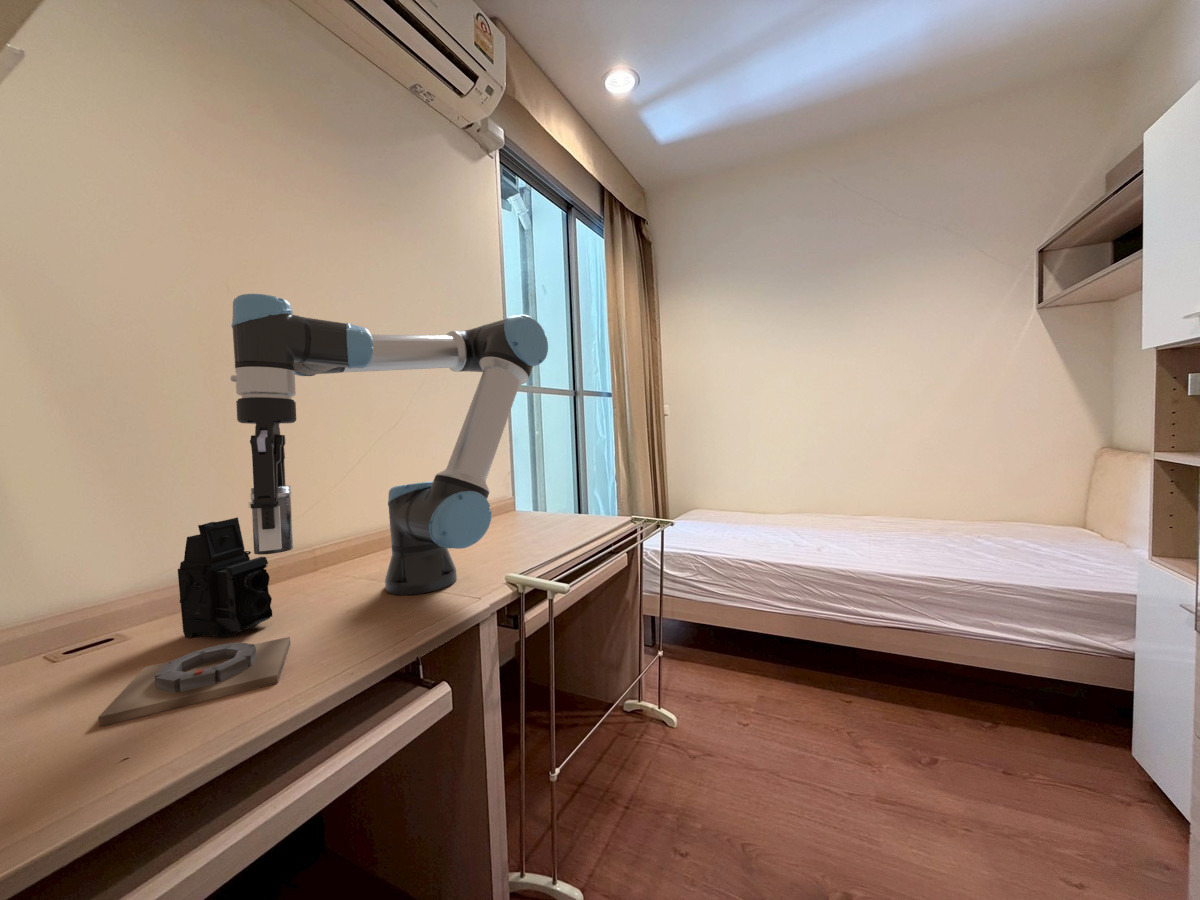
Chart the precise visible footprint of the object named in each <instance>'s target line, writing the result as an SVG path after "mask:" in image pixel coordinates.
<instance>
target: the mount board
mask: <svg viewBox="0 0 1200 900" xmlns="http://www.w3.org/2000/svg"><path fill="white" fill-rule="evenodd" d="M290 647H291V637H290V636H287V637H282V638H279V639H273V640H268V641H263V642H258V643H246V642H241V641H239V642H238V641H237V642H234V643H233V642H227V643H223V644H217V645H214V646H209V647H204V648H202V649H201V650H197V649H196V650H195V651H192V652H189V653H187V654H185V655H182V656H180V657H178V658H176V659H173V660H170V661H167V662H163V663H157V664H153V665H148V666H144V668H143V669H141V671H140V672H139V673H137V675H136V676H135V677H134V678H133V679H132V680H131V681H130V683H129V684H127V686H126V687H125V688H124V689H123V690H122V691H121V692H120V693H119V695H117V696H116V697H115V698H114V699H113V701H112V702H111V703H110V704H109V705H108V706H107V707H106V708H105V709H104V710H103V712H102V713H101V714H100V715H99V716H98V719H97V720H98V726H99V727H104V726H107V725H112V724H116V723H120V722H123V721H125V722H126V721H129V720H133V719H136V718H139V717H140V718H141V717H144V716H148V715H152V714H157V713H161V712H164V711H165V712H166V711H168V710H172V709H178V708H181V707H186V706H189V705H194V704H198V703H201V702H206V701H209V700H215V699H218V698H222V697H227V696H230V695H234V694H238V693H242V692H247V691H251V690H256V689H258V688H259V689H260V688H263V687H267V686H272V685H275V684H278V683H279V681H280V677H281V674H282V672H283V668H284V665H285V661H286V659H287V656H288V654H289V653H288V652H289V650H290Z"/></svg>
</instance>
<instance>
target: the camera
mask: <svg viewBox="0 0 1200 900" xmlns="http://www.w3.org/2000/svg"><path fill="white" fill-rule="evenodd" d="M197 526H198V527H197V528H198V531H199V534H195V535H190V536H186V542H185V547H184V548H185V549H184V550H185V551H184V556H183V557H184V558H183V560H182V561H181V562H180V565H179V568H177V576H178V577H177V578H178V579H177V580H178V586H179V587H178V589H179V603H180V610H181V611H180V612H181V622H182V623H181V624H182V633H183V634H184V637H185V638H186V639H188V638H192V637H194V636H202V637H203V636H206V637H224V638H225V637H226V638H229V637H230V636H233V635H235V634H237V633H239V632H242V631H244V630H245V631H246V630H248V629H250V628H252V627H254V626H256V625H258V624H259V625H260V624H261V623H263V622H264V621H268V620H269V619H271V617H272V618H273V609H272V605H271V604H272V599H273V598H272V596H271V594H270V593H269V592H270V591H269V583H270V575H269V572H267V569H266V568H267V567H268V564H269V562H268V559H267V557H266V556H259V557H257V558H253V559H251V558H250V556H249V555H250V554H251V553H252V552H251V550H248V551H247V550H245V544H244V539H243V535H242V531H241V530H242V529H241V525H240V521H239V517H238V516H237V517H234V518H230V519H224V520H219V521H211V522H207V523H203V524H198V525H197Z"/></svg>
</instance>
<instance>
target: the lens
mask: <svg viewBox="0 0 1200 900" xmlns="http://www.w3.org/2000/svg"><path fill="white" fill-rule="evenodd" d="M249 495H250V500H251V501H248V503H247V504H248V508H250V509H251V504H254V487H252V488H250V494H249ZM278 502H279V504H278V506H280V521H281V542H282V548H281V549H277V550H268V551H259V534H258V514H257V508H254V509H251V514H252V515H251V517H252V533H253V536H252V537H253V540H252V541H253V553H254V555H260V556H261V555H273V554H280V553H284V552H288V551H291V550H293V549H294V541H293V521H292V490H291V485H285V486H278Z"/></svg>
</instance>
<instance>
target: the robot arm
mask: <svg viewBox="0 0 1200 900" xmlns="http://www.w3.org/2000/svg"><path fill="white" fill-rule="evenodd" d="M231 328H232V339H233V340H232V341H233V354H234V355H233V356H234V358H233V359H234V369H235V371H234V372H235V374H236V375H235V374H233V375H231V376H230V381H231V382H233V383H235V388H236V389H235V390H236V394H237V395H238V396H240V397H241V398H238V399H237V400H236V420H237V421H238V423H240V424H250V425H255V429H254V430H255V431H254V434H253V435H250V440H249V444H250V447H251V449H250V450H251V460H252V479H253V480H252V481H253V488H254V504H251V507H250V509H251V510H252V509H254V508H257V514H258V534H259V551H268V550H277V549H281V548H282V542H281V521H280V506H278V504H279V502H278V486H286V469H285V459H286V455H285V454H286V453H285V446H286V435H285V434H281V429H280V424H294V423H295V422H296V421H297V408H296V406H297V405H296V404H297V402H296V401H295V400H294V399H293V397H295V396H296V395H297V394H296V376H299V377H313V376H316V375H323V374H324V375H326V374H340V373H362V372H363V373H364V372H379V371H380V372H384V371H387V372H388V371H404V370H405V371H406V370H408V371H409V370H410V371H411V370H427V369H428V370H432V369H433V370H434V369H449V370H450V371H452V372H455V373H456V372H457V373H458V372H471V373H472V372H476V373H481V376H480V379H479V381H478V384H477V387H476V390H475V392H474V394H473V397H472V400H471V402H470V405H469V407H468V411H467V413H466V416H465V419H464V421H463V424H462V427H461V429H460V432H459V434H458V437H457V439H456V442H455V445H454V448H453V450H452V453H451V455H450V458H449V460H448V463H447V467H446V468H445V469H444V470H442V471H440V472H438V473H436V474H435V476H434V478H433V480H432V481H424V482H423V481H422V482H416V483H415V482H414V483H410V484H401V485H395V486H393V487H391V488H390V489H389V490H388V496H387V497H388V501H387V506H388V513H389V514H388V515H389V518H388V519H389V529H390V543H391V556H390V561H389V564H388V568H387V571H386V575H385V580H384V585H385V586H384V587H385V591H386V593H389V594H393V595H397V596H398V595H400V596H401V595H402V596H404V595H405V596H408V595H420V594H425V593H430V592H434V591H438V590H439V591H440V590H441V589H444V588H446V587H448V586H451V585H453V584H454V583H455V582H456V581H457V578H458V577H457V568H456V565H455V563H454V561H453V558H452V557H451V553H450V551H449V549H460V550H461V549H466V548H470V547H471V546H473V545H475V544H476V543H478V542H479V541H480V540H481V539H483V537H484V536H485V534H486V533H487V532H488V529H489V528H490V525H491V522H492V510H491V509H490V507H491V505H490V502H489V501H488V498H489V495H490V492H491V491H490V488H489V487H488V485H487V483H486V481H487V479H488V476H489V474H490V473H489V472H490V470H491V468H492V464H493V463H494V462H493V461H494V459H495V456H496V454H497V453H496V452H497V450H498V447H499V444H500V442H501V439H502V436H503V433H504V431H505V427H506V425H507V422H508V418H509V416H510V413H511V411H512V407H513V404H514V402H515V398H516V396H517V393H518V390H519V387H520V386H521V385H524V384H527V383H528V382H529V379H530V376H531V373H532V370H533V368H534V367H536V366H539V365H541V364H543V362H544V361H545V359H546V358H547V356H548V352H549V343H548V338H547V336H546V333H545V330H544V329H543V326H542V325H541V324H540V322H538V321H537V320H536V319H535V318H533V317H531V316H530V315H527V314H519V315H510V316H509V317H507V318H503V319H501V320H498V321H493V322H491V323H486V324H483V325H480V326H477V327H474V328H471V329H470V328H469V329H465V330H452V331H449V332H447V334H446V335H443V334H438V335H437V334H429V335H427V334H372V333H371V332H370V331H369V330H368V329H367V328H366V327H364V326H360V325H355V324H352V323H349V322H345V323H344V322H338V321H331V320H326V319H325V320H324V319H320V318H319V319H317V318H311V317H304V316H300V315H297V314H294V312H293V310H292V306H291V303H290V302H289V301H288V300H287V299H284V298H280V297H276V296H274V295H270V294H262V293H245V294H240V295H237V296H236V298H234V299H233V301H232V322H231Z"/></svg>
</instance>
